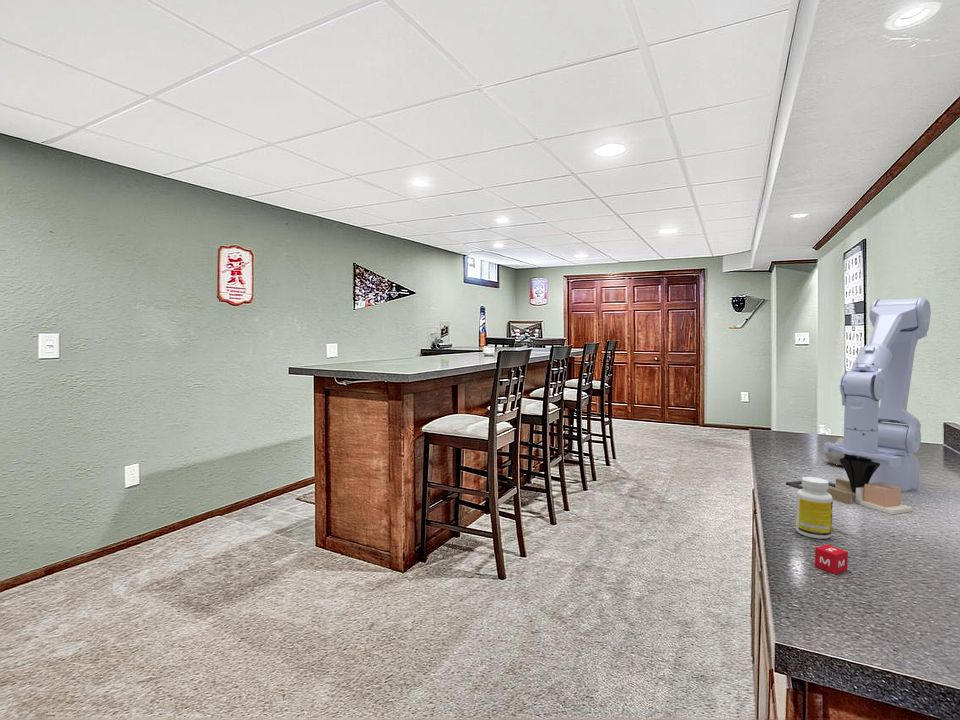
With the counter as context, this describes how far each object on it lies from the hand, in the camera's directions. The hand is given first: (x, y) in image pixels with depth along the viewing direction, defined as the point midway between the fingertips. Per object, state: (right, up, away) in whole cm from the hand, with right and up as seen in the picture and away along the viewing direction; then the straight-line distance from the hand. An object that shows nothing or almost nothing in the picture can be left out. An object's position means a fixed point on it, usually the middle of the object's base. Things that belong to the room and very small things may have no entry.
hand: (858, 492), depth 107 cm
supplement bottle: (-20, -3, -16) cm, 26 cm away
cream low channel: (+1, -2, -5) cm, 5 cm away
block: (+1, -1, -4) cm, 5 cm away
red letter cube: (-26, -4, -29) cm, 40 cm away
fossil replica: (+21, -1, +31) cm, 37 cm away
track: (0, -2, 0) cm, 2 cm away
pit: (-3, -2, +10) cm, 11 cm away
